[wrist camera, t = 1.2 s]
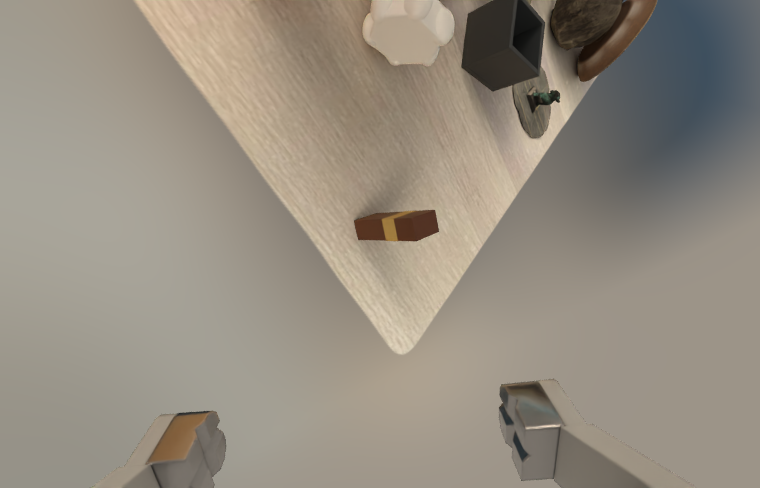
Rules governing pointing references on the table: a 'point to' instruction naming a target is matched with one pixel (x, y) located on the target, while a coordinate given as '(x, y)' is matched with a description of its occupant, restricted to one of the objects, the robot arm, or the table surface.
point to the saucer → (614, 38)
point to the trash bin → (503, 43)
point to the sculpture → (535, 103)
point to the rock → (583, 20)
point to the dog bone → (408, 30)
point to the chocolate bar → (397, 226)
